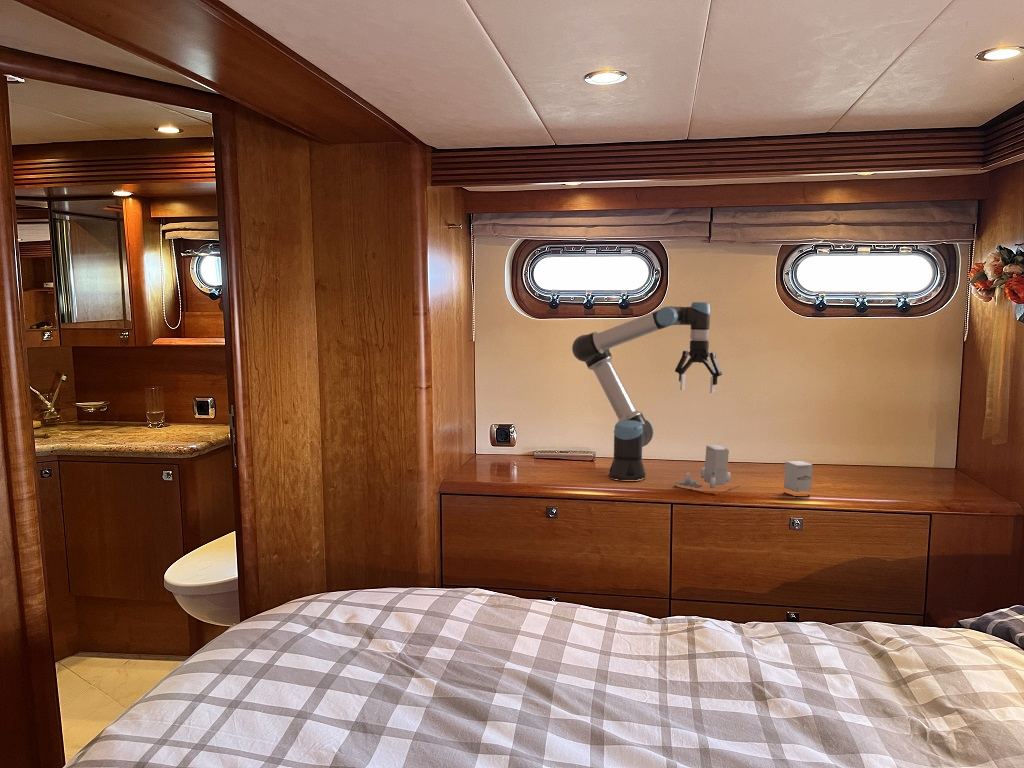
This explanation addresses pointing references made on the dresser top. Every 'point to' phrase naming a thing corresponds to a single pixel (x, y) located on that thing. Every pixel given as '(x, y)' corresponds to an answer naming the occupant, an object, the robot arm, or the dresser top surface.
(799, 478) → the supplement box
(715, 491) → the dresser top surface
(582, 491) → the dresser top surface
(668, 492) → the dresser top surface
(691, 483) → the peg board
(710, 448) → the skincare box
